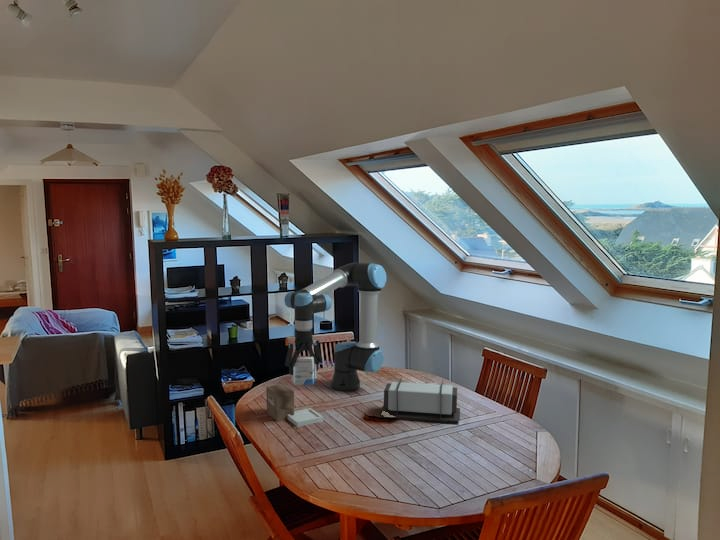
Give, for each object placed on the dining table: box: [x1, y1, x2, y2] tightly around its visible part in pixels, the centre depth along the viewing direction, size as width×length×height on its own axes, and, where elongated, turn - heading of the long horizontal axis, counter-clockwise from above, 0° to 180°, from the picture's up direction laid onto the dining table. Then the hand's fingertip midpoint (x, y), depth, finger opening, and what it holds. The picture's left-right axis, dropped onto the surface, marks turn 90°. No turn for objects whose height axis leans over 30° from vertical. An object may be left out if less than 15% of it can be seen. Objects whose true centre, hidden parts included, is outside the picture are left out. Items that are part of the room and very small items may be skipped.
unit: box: [265, 383, 295, 422], centre depth 250 cm, size 8×12×12 cm
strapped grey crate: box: [380, 378, 461, 424], centre depth 251 cm, size 15×15×35 cm
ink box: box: [293, 355, 315, 386], centre depth 243 cm, size 9×5×12 cm, turn 84°
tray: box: [286, 407, 324, 428], centre depth 246 cm, size 12×12×2 cm
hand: (303, 379), depth 244 cm, fingers closed on ink box, 9 cm apart
